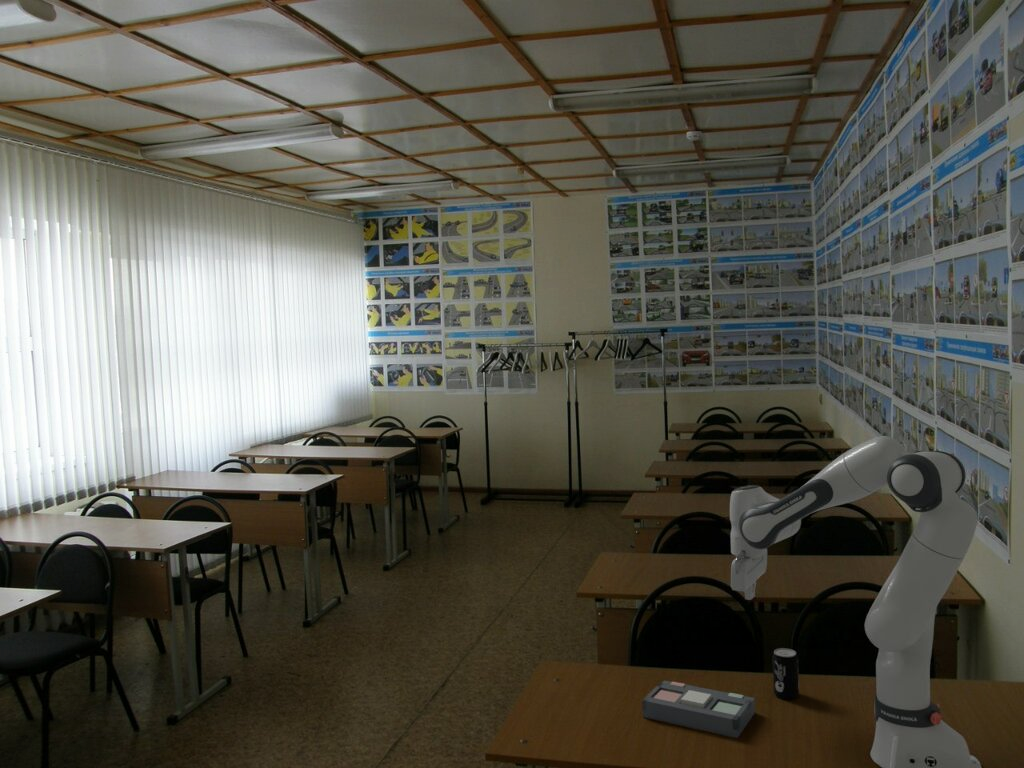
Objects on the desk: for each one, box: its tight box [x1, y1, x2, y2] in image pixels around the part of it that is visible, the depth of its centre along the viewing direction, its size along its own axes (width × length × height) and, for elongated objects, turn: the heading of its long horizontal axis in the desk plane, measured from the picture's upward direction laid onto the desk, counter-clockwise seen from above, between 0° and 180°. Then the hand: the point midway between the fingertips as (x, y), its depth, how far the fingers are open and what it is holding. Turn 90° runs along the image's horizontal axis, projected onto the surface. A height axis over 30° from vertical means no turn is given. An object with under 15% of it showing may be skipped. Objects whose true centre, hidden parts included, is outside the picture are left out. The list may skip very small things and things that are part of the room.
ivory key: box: [681, 690, 711, 708], centre depth 213 cm, size 6×6×2 cm
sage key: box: [712, 702, 742, 715], centre depth 209 cm, size 6×6×2 cm
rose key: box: [653, 690, 682, 702], centre depth 218 cm, size 6×6×2 cm
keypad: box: [641, 680, 756, 739], centre depth 215 cm, size 25×15×4 cm, turn 57°
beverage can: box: [772, 647, 800, 701], centre depth 223 cm, size 7×7×12 cm
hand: (749, 598), depth 217 cm, fingers closed
